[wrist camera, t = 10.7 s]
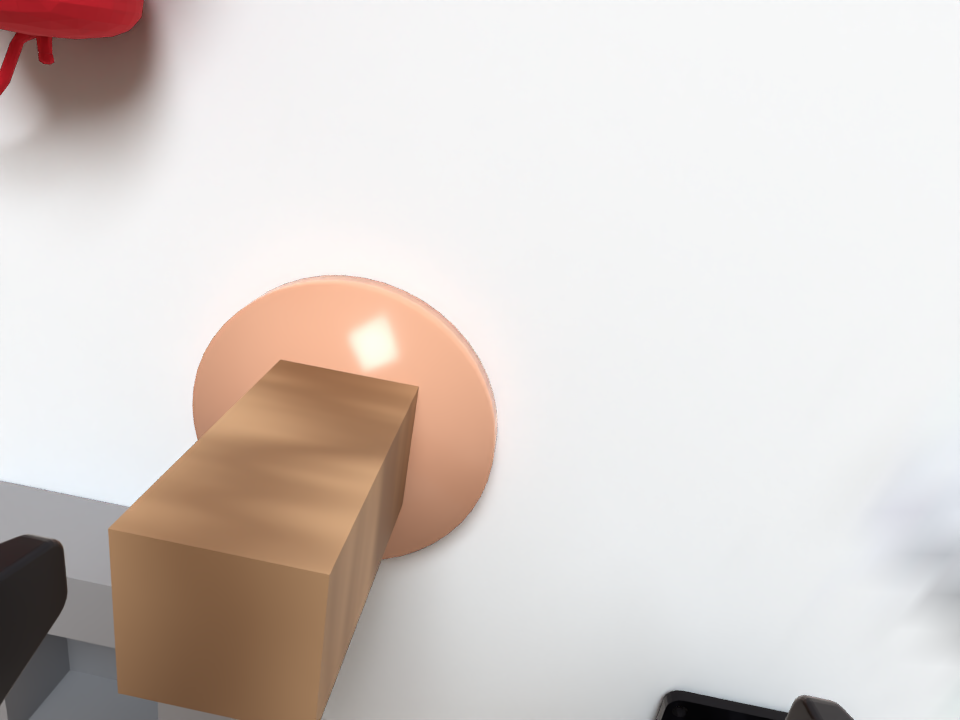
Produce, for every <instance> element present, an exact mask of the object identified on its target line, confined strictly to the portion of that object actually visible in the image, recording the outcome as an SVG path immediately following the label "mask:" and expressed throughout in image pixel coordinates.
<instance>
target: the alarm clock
mask: <svg viewBox="0 0 960 720" xmlns="http://www.w3.org/2000/svg"><path fill="white" fill-rule="evenodd" d="M143 2H144V0H0V29H3V30H8V31H13V32H17V33H16V34H15V36H14V37H13V39H12V41H11V42H10V44H9V47H8V50H7V53H6V55H5V58H4V61H3V64H2V67H1V69H0V95H1V94H2V93H3V91H4V90H5V89H6V87H7V86H8V84H9V83H10V81H11V78H12V75H13V72H14V69H15V67H16V64H17V61H18V58H19V56H20V53H21V50H22V47H23V44H24V43H25V42H27V41H28V40H31V39H35V38H36V40H37V48H38V52H39V53H38V56H39V61H40V62H42V63H43V64H52V63H54V57H53V54H52V37H56V38H68V39H87V38H102V37H113V36H116V35H119V34H121V33H124V32H127V31H129V30H130V29H131V28H132V27H133V26H134V25H135V24H136V23H137V22H138V21H139V20H140V18H141V17H142V10H143Z"/></svg>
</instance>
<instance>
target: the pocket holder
mask: <svg viewBox="0 0 960 720" xmlns="http://www.w3.org/2000/svg"><path fill="white" fill-rule="evenodd" d="M129 508H130V507H126V506H121V505H116V504H111V503H106V502H101V501H96V500H91V499H87V498H82V497H77V496H72V495H67V494H62V493H57V492H52V491H47V490H42V489H38V488H33V487H28V486H23V485H18V484H13V483H8V482H3V481H0V543H2V542H4V541H7V540H9V539H12V538H15V537H17V536H20V535H23V534H34V535H39V536H44V537H49V538H53V539H56V540H58V541H60V542H61V544H62V546H63V548H64V556H65V567H66V577H67V588H68V593H67V599H66V603H65V605H64V608H63V610H62V612H61V613H60V615H59V617H58V618H57V620H56V621H55V623H54V624H53V626H52V627H51V629H50V630H49V632H48V633H47V635H46V637H45V638H44V640H43V641H42V643H41V644H40V646H39V647H38V649H37V650H36V652H35V653H34V655H33V657H32V658H31V660H30V661H29V663H28V664H27V666H26V667H25V669H24V670H23V672H22V673H21V675H20V676H19V678H18V680H17V681H16V683H15V684H14V686H13V687H12V689H11V690H10V692H9V693H8V695H7V696H6V698H5V700H4V701H3V703H2V704H1V706H0V720H238V719H233V718H229V717H224V716H219V715H215V714H210V713H206V712H201V711H197V710H192V709H187V708H183V707H178V706H174V705H169V704H165V703H160V702H156V701H151V700H146V699H142V698H137V697H133V696H128V695H124V694H119V693H118V685H117V668H116V652H115V635H114V619H113V602H112V586H111V569H110V553H109V536H108V528H109V527H110V526H111V525H112V524H113V523H114V522H115V521H116V520H117V519H118V518H119V517H120V516H121V515H122V514H123V513H124V512H125V511H126V510H128V509H129Z"/></svg>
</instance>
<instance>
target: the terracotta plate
mask: <svg viewBox="0 0 960 720" xmlns="http://www.w3.org/2000/svg"><path fill="white" fill-rule="evenodd" d="M280 359H281V360H286V361H291V362H296V363H301V364H306V365H311V366H317V367H322V368H327V369H332V370H337V371H342V372H347V373H352V374H357V375H363V376H368V377H373V378H378V379H383V380H388V381H393V382H398V383H403V384H409V385H414V386H419V390H418V397H417V404H416V411H415V419H414V426H413V433H412V440H411V447H410V454H409V462H408V469H407V476H406V483H405V490H404V497H403V505H402V507H401V510H400V513H399V515H398V518H397V521H396V523H395V526H394V528H393V531H392V534H391V536H390V539H389V542H388V544H387V547H386V549H385V552H384V555H383V557H382V559H388V558H393V557H398V556H403V555H406V554H409V553H412V552H415V551H418V550H420V549H422V548H425V547H427V546H429V545H431V544H433V543H435V542H436V541H438V540H439V539H441V538H443V537H444V536H446V535H447V534H449V533H450V532H451V531H452V530H453V529H454V528H456V527H457V526H458V525H459V524H460V523H461V522H462V521H463V520H464V519H465V518H466V516H467V515H468V514H469V513H470V512H471V511H472V509H473V508H474V506H475V504H476V503H477V501H478V500H479V498H480V497H481V494H482V492H483V490H484V488H485V485H486V483H487V481H488V477H489V474H490V470H491V466H492V462H493V457H494V451H495V446H496V437H497V411H496V405H495V399H494V394H493V391H492V388H491V385H490V382H489V379H488V376H487V374H486V372H485V370H484V368H483V365H482V363H481V361H480V359H479V358H478V356H477V355H476V353H475V352H474V350H473V348H472V347H471V345H470V344H469V342H468V341H467V340H466V339H465V338H464V336H463V335H462V334H461V333H460V332H459V331H458V329H457V328H456V327H455V326H454V325H453V324H452V323H451V322H449V321H448V320H447V319H446V318H445V317H444V316H443V315H442V314H441V313H439V312H438V311H437V310H435V309H434V308H432V307H431V306H430V305H428V304H427V303H425V302H424V301H422V300H421V299H419V298H417V297H415V296H413V295H411V294H409V293H408V292H406V291H404V290H401V289H399V288H396V287H393V286H391V285H388V284H386V283H383V282H379V281H375V280H371V279H367V278H361V277H353V276H345V275H325V276H316V277H309V278H303V279H300V280H296V281H293V282H289V283H286V284H283V285H281V286H279V287H277V288H275V289H272V290H270V291H268V292H267V293H265V294H263V295H262V296H260V297H259V298H257V299H256V300H254V301H253V302H251V303H250V304H248V305H247V306H246V307H244V308H243V309H241V310H240V311H239V312H237V313H236V314H235V315H234V316H233V317H232V318H231V319H229V320H228V321H227V322H226V323H225V324H224V325H223V326H222V327H221V329H220V330H219V331H218V332H217V334H216V335H215V336H214V337H213V339H212V340H211V342H210V344H209V346H208V347H207V349H206V351H205V352H204V354H203V357H202V360H201V362H200V365H199V367H198V370H197V374H196V379H195V384H194V390H193V417H194V425H195V430H196V435H197V439H198V440H199V439H200V438H201V437H202V436H203V435H204V434H205V433H206V432H207V431H208V430H209V429H210V428H211V427H212V426H213V425H214V424H215V423H216V422H217V421H218V420H219V419H220V418H221V417H222V416H223V415H224V414H225V413H226V412H227V411H228V410H229V409H230V408H231V407H232V406H233V405H235V404H236V403H237V402H238V401H239V400H240V399H241V398H242V397H243V396H244V395H245V394H246V393H247V392H248V391H249V390H250V389H251V388H252V387H253V386H254V385H255V384H256V383H257V382H258V381H259V380H260V379H261V378H262V377H263V376H264V375H265V374H266V373H267V372H268V371H269V370H270V369H271V368H272V367H273V366H274V365H275V364H276V363H277V362H278V361H279V360H280Z"/></svg>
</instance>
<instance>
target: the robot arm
mask: <svg viewBox="0 0 960 720" xmlns="http://www.w3.org/2000/svg"><path fill="white" fill-rule="evenodd" d="M67 593H68V588H67V577H66V567H65V556H64V548H63V546H62V544H61V542H60V541H58V540H56V539H53V538H49V537H44V536H39V535H34V534H23V535H20V536H17V537H15V538H12V539H9V540H7V541H4V542H2V543H0V706H1V704H2V703H3V701H4V700H5V698H6V696H7V695H8V693H9V692H10V690H11V689H12V687H13V686H14V684H15V683H16V681H17V680H18V678H19V676H20V675H21V673H22V672H23V670H24V669H25V667H26V666H27V664H28V663H29V661H30V660H31V658H32V657H33V655H34V653H35V652H36V650H37V649H38V647H39V646H40V644H41V643H42V641H43V640H44V638H45V637H46V635H47V633H48V632H49V630H50V629H51V627H52V626H53V624H54V623H55V621H56V620H57V618H58V617H59V615H60V613H61V612H62V610H63V608H64V605H65V603H66V599H67ZM676 706H682V707H676ZM656 720H854V719H853V718H852V717H851V716H850V715H849V714H848V713H847V712H846V711H845V710H844V709H843V708H842V707H841V706H840V705H839V704H837V703H836V702H833V701H831V700H826V699H821V698H817V697H812V696H807V695H802V696H799V697H798V698H796V699H795V701H794V702H793V704H792V706H791V708H790V711H789V713H786V712H781V711H776V710H771V709H766V708H762V707H757V706H752V705H747V704H743V703H738V702H733V701H728V700H723V699H719V698H714V697H709V696H704V695H699V694H695V693H690V692H685V691H672V692H670V693H668V694H667V695H666V696H665V697H664V699H663V702H662V705H661V708H660V710H659V713H658V716H657V719H656Z"/></svg>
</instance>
